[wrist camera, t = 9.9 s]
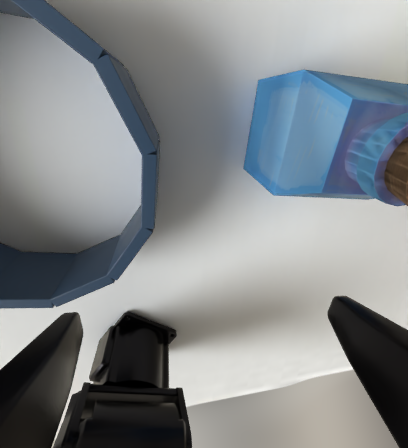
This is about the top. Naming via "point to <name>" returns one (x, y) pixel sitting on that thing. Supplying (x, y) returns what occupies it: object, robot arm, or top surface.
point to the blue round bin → (139, 224)
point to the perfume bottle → (330, 137)
